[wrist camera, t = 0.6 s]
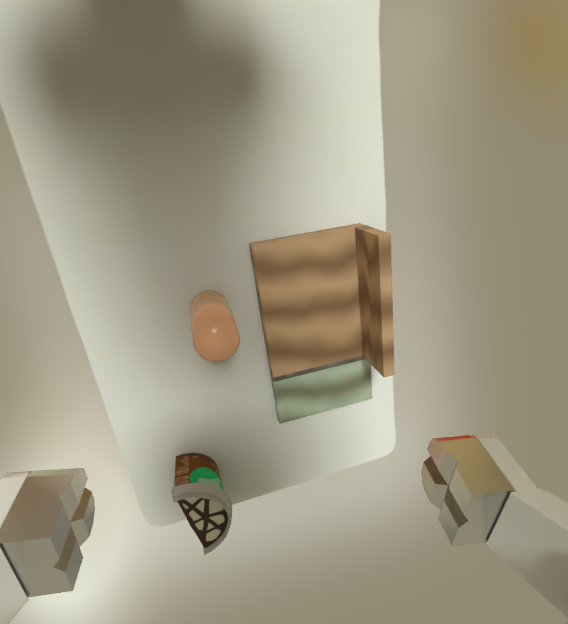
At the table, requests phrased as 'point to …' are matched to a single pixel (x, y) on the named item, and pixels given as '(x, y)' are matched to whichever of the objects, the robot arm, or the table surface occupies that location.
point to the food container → (202, 498)
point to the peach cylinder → (213, 327)
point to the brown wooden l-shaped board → (325, 316)
